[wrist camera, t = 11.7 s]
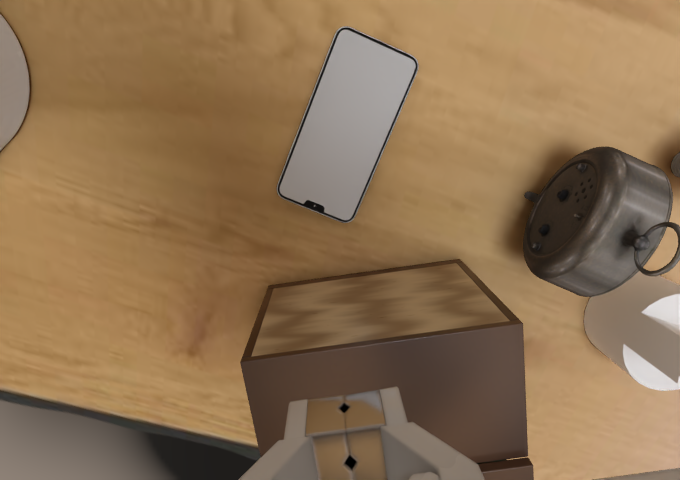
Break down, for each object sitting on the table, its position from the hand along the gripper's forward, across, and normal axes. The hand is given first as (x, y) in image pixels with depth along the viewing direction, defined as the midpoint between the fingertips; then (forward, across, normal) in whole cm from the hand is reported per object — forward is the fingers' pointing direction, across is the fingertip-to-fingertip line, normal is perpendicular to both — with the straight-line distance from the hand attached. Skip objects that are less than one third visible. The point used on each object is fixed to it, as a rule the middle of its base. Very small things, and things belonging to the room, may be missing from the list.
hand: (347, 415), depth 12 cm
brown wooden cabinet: (+29, -2, +11) cm, 31 cm away
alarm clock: (+29, -19, +2) cm, 35 cm away
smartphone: (+29, -2, -7) cm, 30 cm away
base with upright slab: (+29, -27, +14) cm, 42 cm away
